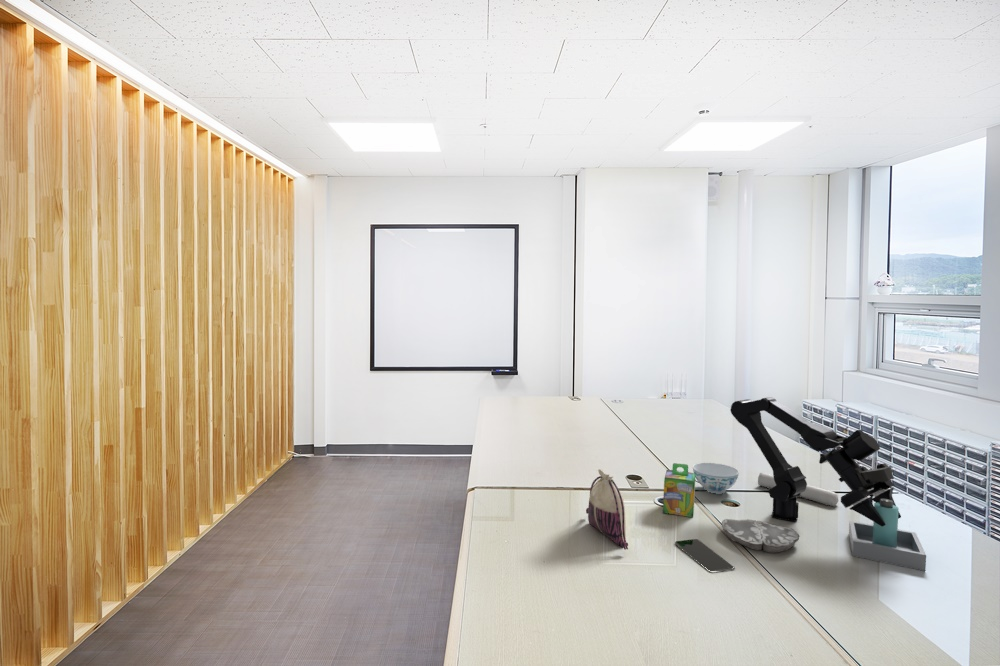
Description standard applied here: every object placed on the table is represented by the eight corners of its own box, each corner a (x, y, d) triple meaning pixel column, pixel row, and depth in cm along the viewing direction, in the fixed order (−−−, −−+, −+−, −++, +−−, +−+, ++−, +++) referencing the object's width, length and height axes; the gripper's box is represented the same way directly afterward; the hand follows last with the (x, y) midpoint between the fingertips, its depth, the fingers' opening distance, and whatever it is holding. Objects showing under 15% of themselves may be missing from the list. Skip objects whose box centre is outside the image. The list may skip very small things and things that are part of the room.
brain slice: (723, 550, 141) (723, 539, 140) (720, 525, 157) (720, 515, 156) (806, 563, 134) (807, 551, 134) (794, 535, 150) (794, 525, 150)
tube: (842, 493, 173) (766, 472, 192) (836, 491, 169) (759, 470, 189) (839, 509, 172) (763, 487, 192) (833, 508, 169) (756, 485, 189)
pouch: (571, 519, 159) (572, 458, 158) (594, 516, 162) (595, 455, 161) (619, 557, 136) (621, 485, 135) (645, 551, 139) (647, 481, 138)
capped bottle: (881, 552, 138) (883, 504, 137) (867, 543, 143) (869, 496, 142) (901, 553, 137) (903, 504, 137) (887, 543, 143) (889, 497, 142)
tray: (852, 555, 137) (853, 540, 137) (848, 534, 150) (849, 520, 150) (925, 571, 130) (926, 555, 130) (914, 546, 143) (915, 532, 142)
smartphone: (710, 571, 128) (673, 541, 144) (710, 575, 128) (673, 544, 144) (736, 568, 130) (697, 538, 145) (736, 572, 130) (697, 542, 145)
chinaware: (698, 480, 195) (699, 460, 195) (742, 489, 187) (742, 467, 186) (686, 492, 183) (687, 470, 183) (732, 501, 174) (733, 479, 174)
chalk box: (662, 513, 164) (663, 467, 164) (665, 503, 173) (666, 459, 172) (693, 518, 161) (695, 470, 160) (694, 507, 169) (696, 462, 169)
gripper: (855, 459, 137) (903, 515, 128) (887, 449, 147) (933, 500, 138) (822, 480, 144) (865, 535, 135) (855, 469, 154) (897, 519, 145)
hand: (891, 521), depth 138 cm, fingers open, 9 cm apart
